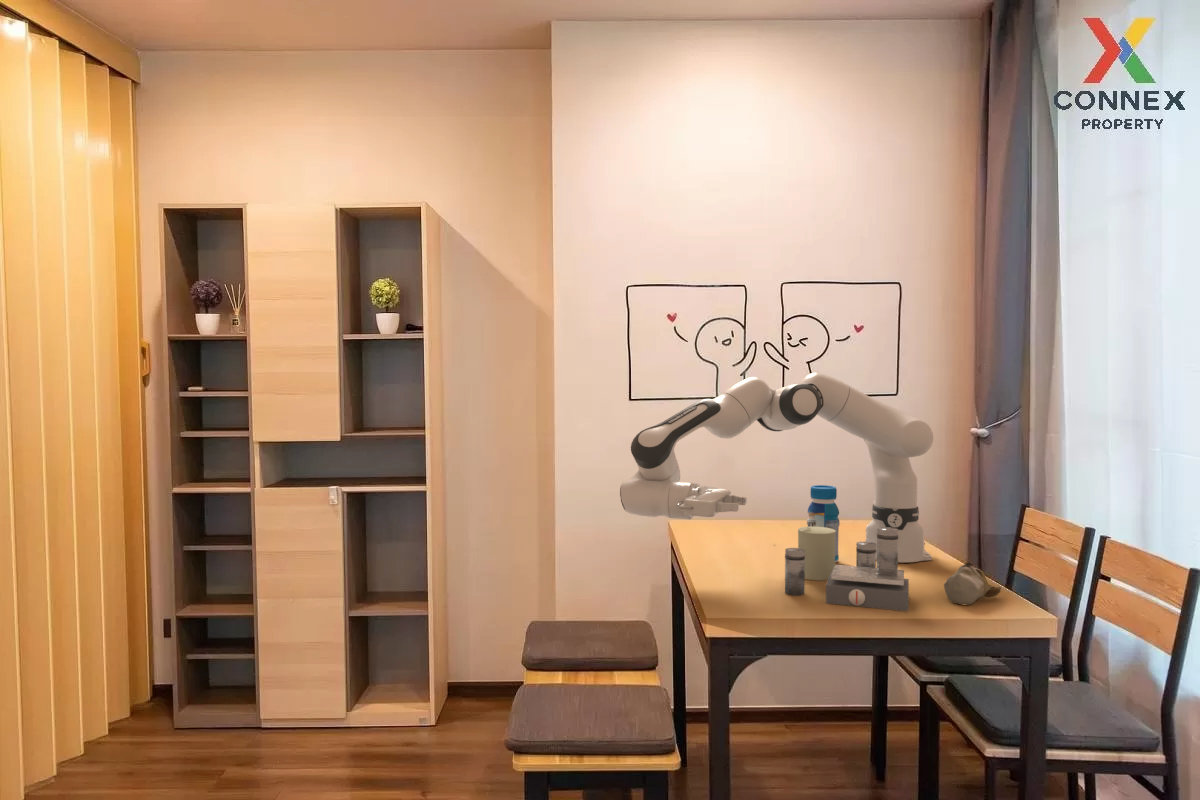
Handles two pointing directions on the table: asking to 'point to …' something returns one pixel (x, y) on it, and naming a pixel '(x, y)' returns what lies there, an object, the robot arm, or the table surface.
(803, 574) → the cylinder
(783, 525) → the table surface
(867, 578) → the scale pan
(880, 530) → the cylinder
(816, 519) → the beverage bottle
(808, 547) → the can
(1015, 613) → the table surface
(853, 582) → the scale body
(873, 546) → the cylinder
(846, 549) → the table surface
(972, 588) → the ceramic sculpture
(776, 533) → the table surface
